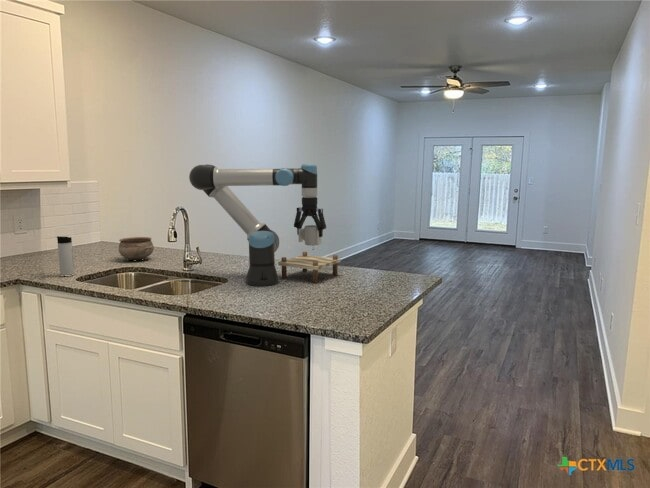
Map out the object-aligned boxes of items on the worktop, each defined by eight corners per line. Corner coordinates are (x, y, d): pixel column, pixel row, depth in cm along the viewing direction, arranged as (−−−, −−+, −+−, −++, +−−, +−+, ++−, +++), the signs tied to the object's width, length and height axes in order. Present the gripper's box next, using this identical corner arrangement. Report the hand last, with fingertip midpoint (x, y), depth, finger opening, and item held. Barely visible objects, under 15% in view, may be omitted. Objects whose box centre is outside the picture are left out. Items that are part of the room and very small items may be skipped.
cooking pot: (108, 260, 286) (107, 239, 284) (136, 255, 302) (134, 235, 300) (138, 265, 274) (136, 243, 272) (164, 259, 290) (163, 238, 288)
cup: (313, 246, 237) (313, 227, 235) (297, 244, 243) (297, 225, 241) (322, 244, 242) (322, 225, 241) (306, 242, 248) (306, 224, 247)
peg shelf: (316, 283, 230) (316, 262, 228) (278, 278, 241) (278, 257, 240) (340, 274, 248) (340, 255, 247) (303, 270, 260) (303, 251, 258)
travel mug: (57, 276, 246) (53, 236, 243) (69, 273, 252) (65, 234, 249) (65, 277, 243) (61, 237, 240) (77, 275, 249) (74, 235, 246)
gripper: (333, 197, 236) (333, 243, 239) (294, 195, 248) (295, 239, 251) (325, 197, 230) (325, 245, 233) (285, 196, 241) (286, 241, 245)
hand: (309, 242), depth 242 cm, fingers closed on cup, 10 cm apart
